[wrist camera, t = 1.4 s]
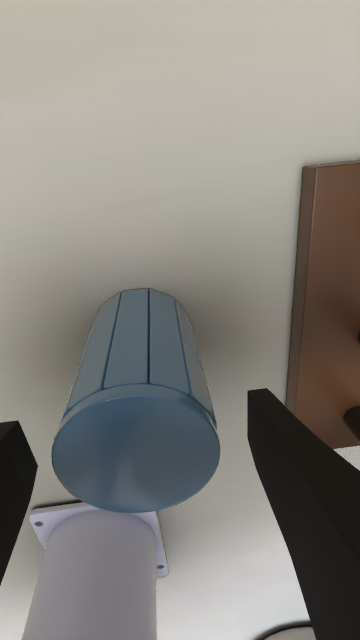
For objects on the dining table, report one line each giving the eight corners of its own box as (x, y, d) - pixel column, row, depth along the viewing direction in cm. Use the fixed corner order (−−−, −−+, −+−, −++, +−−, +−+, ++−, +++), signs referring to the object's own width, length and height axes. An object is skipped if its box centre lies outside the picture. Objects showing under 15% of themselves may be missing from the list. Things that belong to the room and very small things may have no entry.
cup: (194, 368, 17) (223, 502, 10) (103, 379, 17) (74, 523, 10) (186, 282, 15) (217, 384, 8) (82, 295, 15) (27, 408, 8)
